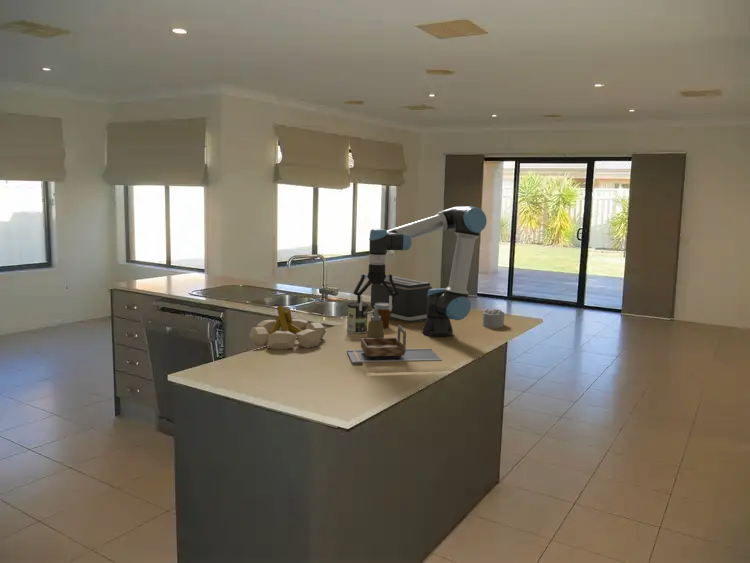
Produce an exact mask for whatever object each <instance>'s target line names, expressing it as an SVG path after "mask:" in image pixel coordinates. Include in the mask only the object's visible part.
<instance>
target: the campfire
mask: <svg viewBox="0 0 750 563" xmlns="http://www.w3.org/2000/svg"><path fill="white" fill-rule="evenodd" d="M276 311H277V314H278V316H277V317H276V318H275V319H267V320H266V319H265V320H262V321H260V322H259V323H257V324H256V327H252V328H251V330H250V333H249V337H250V340H251V341H252V343H253V344H254V345H255V346H256V347H263V346H265V347H266V346H267V347H266V348H267V349H271V350H283V349H286V350H289V349H291V348H293V347H294V345H295V344H296V343H295V342H296V339H297V341H298V344H299V346H300V347H302V348H304V349H311V348H310V347H312V348H316V347H318V346H319V344H320V343H321V340H323V338H324V336H325V335H326V333H327V331H326V329H325V327H324V325H323V324H322V323H321V322H319V321H317V322H309V321H308V320H305V319H301V318H292V317H293V316H292V312H291V308H289V307H284V306H283V305H278V306H277V307H276ZM280 329H281V330H280ZM315 346H316V347H315Z"/></svg>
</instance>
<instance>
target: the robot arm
mask: <svg viewBox="0 0 750 563" xmlns="http://www.w3.org/2000/svg"><path fill="white" fill-rule="evenodd" d="M486 227H487V216H486V213H485V212H484V211H483V209H482V208H480V207H476V206H468V205H467V206H465V205H458V206H457V205H456V206H453V207H450V208H447V209H443V210H442V211H438V212H437V213H436V214H435V215H432V216H429V217H426V218H422V219H420V220H417V221H414V222H410V223H407V224H404V225H401V226H398V227H393V228H391V229H383V228H372V229H370V232H369V245H368V246H369V252H368V273H367V274H364V273H361V275H360V280H359V281H358V283H357V285H356V287H355V288H354V290H353V294H354V295H355V296H356V297H357V298H356V299H357V300H356V301H357V302H358V303H359V310H360V311H362V303H363V296H362V295H363V293H365V291H366V290H367V289H368V288H369V287H371V285H372V284H378V285H380V284H383V285H384V287H385V288H386V289H387V290H388V292H389V293H390V294H391V296H389V310H390V311H392V303H394V297H395V296H396V295H398V294H399V293H398V291H397V289H396V287H395V284H394V282H393V280H392V277H393V276H392V274H391V273H389V274H386V258H387V251H407V250H410V249H411V247H412V240H413V239H416V238H420V237H422V236H427V235H430V234H432V233H436V232H439V231H442V232H445V231H451V230H455V231H454V235H456V243H455V248H454V253H453V258H452V265H451V269H450V270H451V271H450V276H449V281H448V286H447V287H444V288H439V287H438V288H436V287H435V288H432V289H429V290H428V294H427V318H426V320H425V321H424V323H423V324H424V325H423V327H422V334H423V335H425V336H429V337H435V338H442V337H443V338H446V337H451V336H452V335H454V334H453V333H454V330H453V326H452V323H451V320H454V321H461V320H463V319H465V318H466V317H467V316H468V315H469V313H470V311H471V309H472V305H471V304H472V303H471V302H470V300H469V299H468V298H469V294H470V293H469V291H468V290H467V287H468V281H469V276H470V270H471V265H472V259H473V254H474V249H475V243H476V240H477V239H478V238H480V232H482V231H483V230H485V228H486ZM385 278H387V279H388V280H389V281H390V283H391V286H392V288H393V290H394V293H393V292H392V291H391V289H390V288H389V287H388V286H387V284H386V283H385V282H384V280H385ZM367 279H368V280H367ZM365 280H367V282H366V283H365V285H363V283H364V281H365ZM362 285H363V287H362ZM361 287H362V288H361Z"/></svg>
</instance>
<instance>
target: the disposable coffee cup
mask: <svg viewBox="0 0 750 563" xmlns="http://www.w3.org/2000/svg"><path fill="white" fill-rule="evenodd" d="M374 307H375V308H377V309H378V314H379V316H381V320H380V321H382V322H383V329H387V328H389V327H390V320H391V319H390V315H391V311H390V310H389V303H376V304H375V306H374Z"/></svg>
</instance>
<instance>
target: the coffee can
mask: <svg viewBox="0 0 750 563" xmlns="http://www.w3.org/2000/svg"><path fill="white" fill-rule="evenodd" d="M346 304H347V305H346V306H347V311H346V312H347V321H346V324H347V325H346V328H347V329H346V331H347V333H349V334H354V335H355V334H356V335H361V334H367V331H368V309H369V308H368V306H369V304H368V303H365V302H362V311H360V310H359V303H358V302H354V301H353V302H349V303H346Z"/></svg>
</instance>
